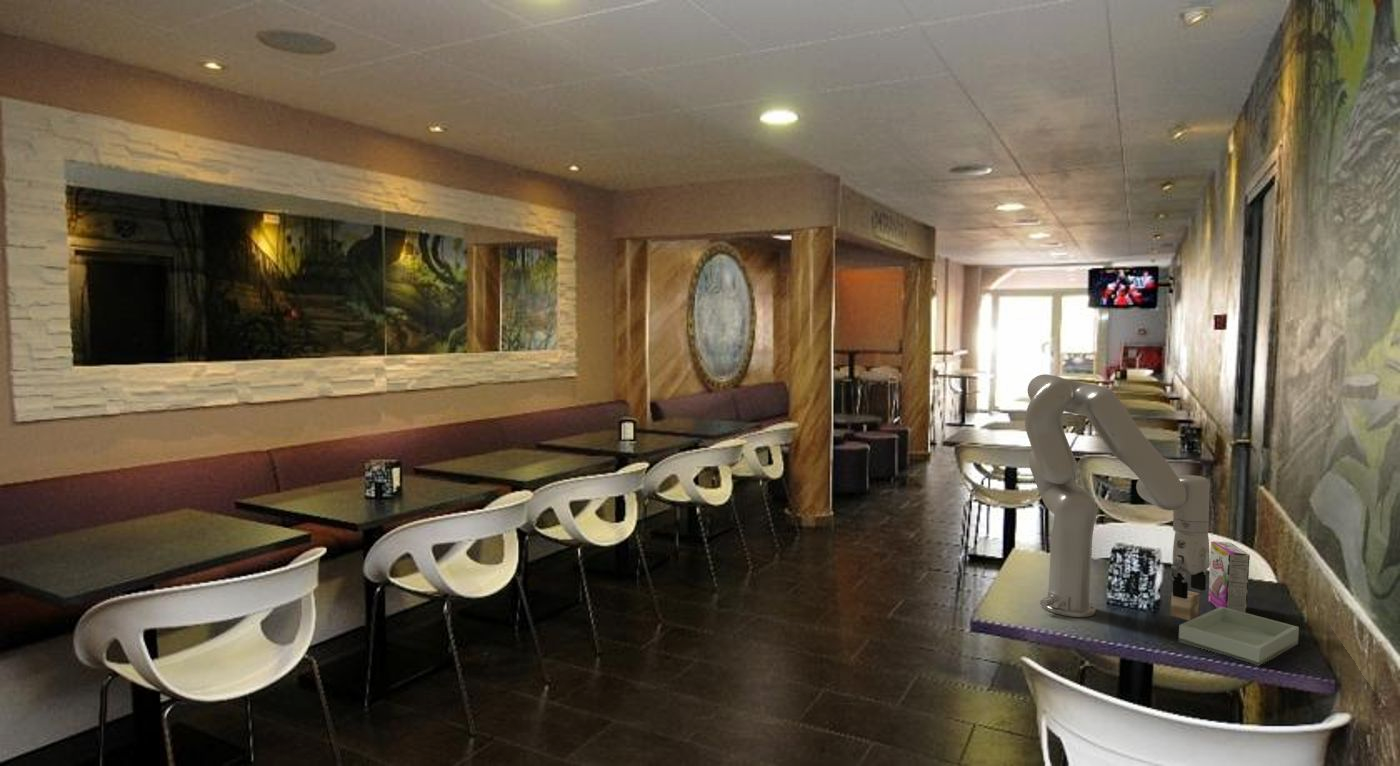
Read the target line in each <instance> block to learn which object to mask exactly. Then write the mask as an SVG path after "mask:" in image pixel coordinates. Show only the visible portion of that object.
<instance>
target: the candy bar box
mask: <svg viewBox="0 0 1400 766" xmlns="http://www.w3.org/2000/svg"><path fill="white" fill-rule="evenodd" d="M1209 552H1210V566H1209V577H1208V592H1207V593H1208V595H1207V603H1210V605H1212V606H1213V607H1215V609H1216V608H1219V607H1221V606H1222V607H1226V608H1229V609H1233V610H1237V611H1241V612H1244V613H1247V610H1248V609H1247V607H1248V593H1249V592H1248V590H1249V577H1250V576H1249V574H1250V573H1249V572H1250V558H1251V557H1250V556H1251V555H1250V553H1248V552H1247V551H1245V550H1243V549H1242V548H1239V547H1238V546H1237V545H1235V544H1234V543H1232V542H1230V541H1229V542H1228V541H1216V540H1215V541H1210V551H1209Z"/></svg>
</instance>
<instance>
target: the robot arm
mask: <svg viewBox="0 0 1400 766" xmlns="http://www.w3.org/2000/svg"><path fill="white" fill-rule="evenodd" d="M1027 394H1028V395H1027V396H1028V397H1029V399H1030V401H1029V402H1028V405H1027V409H1026V411H1025V416H1024V427H1025V432H1026V434H1027V437H1028V440H1029V443H1030V447H1031V450H1030V453H1029V456H1028V465H1029V468H1030V472H1031V474H1032V477H1033V480H1034V481H1035V484H1036V487H1037V490H1038V492H1039V495H1040V497H1041V499H1042V501H1043V503H1044V506H1045V507H1046V508H1047V510H1048V511H1050V513H1052V514H1053V515H1054V516H1053V523H1052V528H1051V534H1050V549H1049V551H1050V553H1049V571H1048V572H1049V573H1048V574H1049V575H1048V591H1047V596H1046V597H1043V598H1042V599H1041V600H1040V602H1039V604H1040V606H1041V607H1042V608H1043V609H1045V610H1046V611H1049V612H1051V613H1053V614H1056V615H1061V616H1066V617H1072V618H1073V617H1074V618H1087V617H1092V616H1094V615H1095V614H1096V613H1097V612H1096V607H1095V605H1093V604H1092V603H1090V592H1091V590H1090V589H1091V574H1092V573H1091V571H1092V554H1093V553H1092V550H1093V538H1094V537H1093V535H1094V530H1095V529H1094V528H1095V525H1096V521H1097V512H1098V510H1097V504H1096V501H1095V499H1094V497H1093V495H1091V494H1090V492H1088V491H1087V490H1085V488H1082V486H1079V485H1078V484H1077V482H1076V479H1075V478H1076V475H1077V473H1078V464H1077V459H1076V458H1075V456H1074V453H1073V451H1072V448H1071V447H1070V443H1069V441H1068V439H1067V437H1066V433H1065V430H1064V427H1063V421H1062V420H1063V419H1062V418H1063V414H1064V413H1069V414H1074V415H1079V416H1084V417H1086V418H1087V420H1088V421H1089V422H1090V423H1091V425H1092V427H1093V428H1094V430H1095V431H1096V432H1097V434H1098V435H1099V437H1100V438H1101V439H1102V442H1103V443H1104V444H1105V446H1106V447H1107V449H1108V450H1109V451H1110V452H1111V454H1113V456H1114V457H1115V458H1116V459H1118V460H1119V461H1121V463H1123V464H1124V465H1125V466H1126V467H1128V469H1130V470H1131V471H1132V472H1133V473H1134V474H1135V476H1136V477H1137V478H1138V480H1137V481H1136V484H1135V485H1136V486H1135V488H1136V492H1137V494H1138V496H1139V497H1140V498H1141V499H1143V500H1144V501H1146V502H1147V503H1150V504H1151V505H1153V506H1156V507H1158V508H1159V509H1161V510H1164V511H1167V512H1168V511H1170V512H1171V511H1173V513H1172V514H1173V515H1172V516H1173V521H1172V530H1173V531H1174V539H1173V547H1172V548H1173V550H1172V564H1171V566H1170V569H1171V579H1172V592H1173V596H1176V597H1180V598H1184V599H1186V598H1187V597H1188V591H1189V590H1188V589H1189V583H1188V582H1187V581H1188V580H1187V579H1188V578H1189V575H1190V587H1191V588H1192V589H1195V590H1200V591H1203V592H1204V591H1206V588H1207V586H1206V585H1207V583H1206V582H1207V576H1206V575H1207V572H1208V569H1210V552H1211V551H1210V540H1209V527H1210V526H1209V524H1210V520H1209V519H1210V517H1209V515H1210V482H1209V479H1208V478H1207V477H1204V476H1200V475H1194V474H1193V475H1192V474H1182V475H1177V474H1176V472H1175V471H1174V469H1173V468H1172V466H1171V465H1170V464H1169V462H1168V461H1167V460H1166V459H1165V458H1164V457H1163V456H1162V454H1161V453H1160V451H1158V450H1157V449H1156V448H1155V447H1154V445H1153V443H1151V441H1150V440H1149V439H1148V437H1146V435H1144V434H1143V431H1142V430H1141V429H1140V428H1139V426H1138V425H1137V423H1136V422H1135V420H1134V419H1133V417H1132V416H1131V415H1130V413H1129V411H1128V410H1127V409H1126V406H1125V405H1124V404H1123V403H1122V401H1121V400H1120V398H1119V397H1118V395H1117V394H1116V393H1115V392H1114V391H1113V390H1112V389H1110V388H1108V387H1105V386H1102V385H1096V384H1092V383H1084V382H1080V381H1077V380H1076V381H1075V380H1072V379H1067V378H1063V377H1061V376H1057V375H1052V374H1045V373H1044V374H1039V375H1036V376H1035V377H1033V378H1032V379H1031V380H1030V382H1029V383H1028V386H1027Z"/></svg>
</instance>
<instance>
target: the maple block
mask: <svg viewBox="0 0 1400 766" xmlns="http://www.w3.org/2000/svg"><path fill="white" fill-rule="evenodd" d="M1170 599H1171V600H1170V616H1171V617H1176V618H1179V619H1182V620H1186V621H1190V620H1192V619H1194V618H1196V617H1199V605H1200V593H1198V592H1195V591H1194V592H1193V591H1190V590H1188V597H1187V598H1186V599H1184V598H1180V597H1176V596H1173V591H1171V598H1170Z"/></svg>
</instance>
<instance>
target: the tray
mask: <svg viewBox="0 0 1400 766" xmlns="http://www.w3.org/2000/svg"><path fill="white" fill-rule="evenodd" d="M1178 626H1179V627H1178V643H1181V644H1184V645H1187V646H1190V647H1193V646H1194V648H1196V647H1197V649H1199V648H1201V649H1200V650H1203V649H1205V650H1204V651H1206V650H1208V651H1207V652H1209V651H1212V652H1215V653H1214V654H1216V653H1219V654H1224V655H1227V656H1232V657H1235V658H1237V659H1240V660H1244V661H1247V662H1250V663H1253V664H1255V665H1258V666H1259V665H1261V664H1263V663H1264V664H1266V663H1268V662H1270V661H1271V660H1273V659H1274V658H1276V657H1278V656H1280V655H1281V654H1283V653H1284V652H1287V651H1288V650H1290V649H1292V648H1293V647H1295V646H1297V645H1299V634H1300V632H1299V631H1300V629H1299V628H1300V627H1299V626H1297V625H1293V624H1289V623H1285V622H1281V621H1279V620H1274V619H1270V618H1267V617H1262V616H1258V615H1255V614H1251V613H1248V612H1246V613H1244V612H1241V611H1237V610H1233V609H1229V608H1226V607H1222V606H1221V607H1219V608H1216V607H1215V609H1213V610H1210V611H1208V612H1206V613H1205V612H1204V614H1201V615H1198V617H1196V618H1194V619H1192V620H1190V621H1189V620H1186V621H1185V622H1183V623H1180V624H1179V625H1178ZM1212 652H1211V653H1212ZM1219 654H1218V655H1219ZM1269 660H1270V661H1269ZM1267 661H1268V662H1267ZM1265 662H1266V663H1265ZM1264 664H1263V665H1264ZM1261 666H1262V665H1261ZM1259 667H1260V666H1259Z"/></svg>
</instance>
